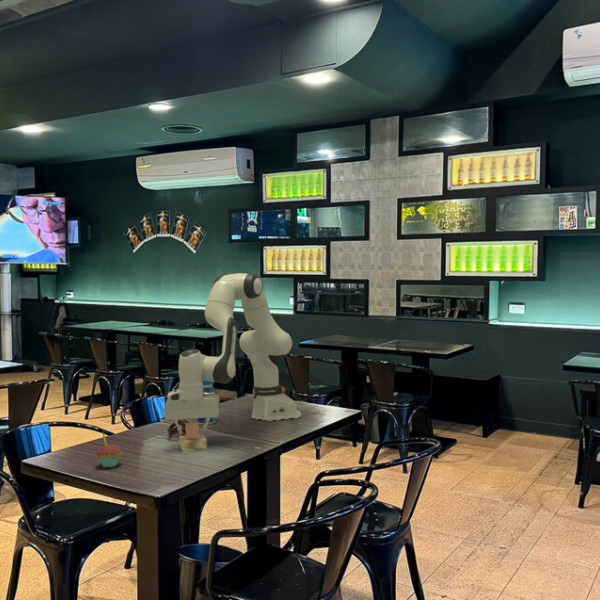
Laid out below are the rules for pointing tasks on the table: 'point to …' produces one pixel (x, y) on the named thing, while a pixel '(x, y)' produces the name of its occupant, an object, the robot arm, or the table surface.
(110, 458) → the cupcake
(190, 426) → the terracotta cube
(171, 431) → the brown rounded piece
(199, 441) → the beech block
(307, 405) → the table surface
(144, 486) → the table surface
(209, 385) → the vitamin bottle
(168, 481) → the table surface
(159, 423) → the table surface
